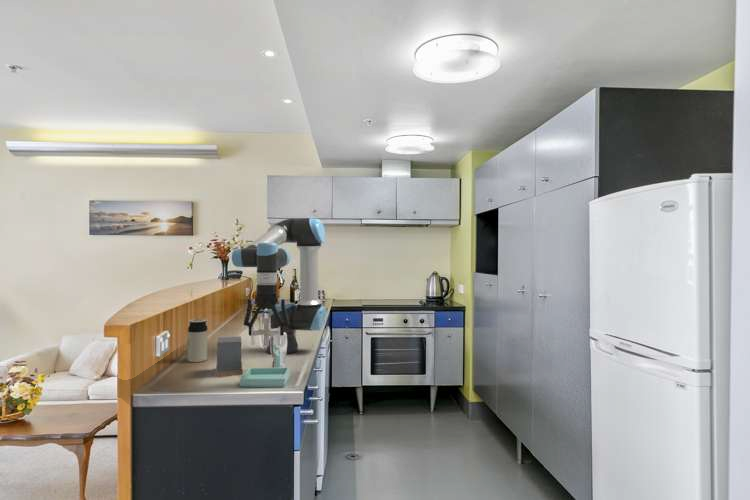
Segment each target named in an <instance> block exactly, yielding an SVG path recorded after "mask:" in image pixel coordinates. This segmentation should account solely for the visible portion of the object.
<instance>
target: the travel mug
mask: <svg viewBox="0 0 750 500" xmlns="http://www.w3.org/2000/svg"><path fill="white" fill-rule="evenodd" d="M188 322H189V325H188V327H187V362H189V363H202V362H205V361H207V360H208V326H207V322H208V319H206V318H192V319H189V320H188Z"/></svg>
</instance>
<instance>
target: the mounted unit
mask: <svg viewBox="0 0 750 500" xmlns="http://www.w3.org/2000/svg"><path fill="white" fill-rule="evenodd" d="M214 374H215V376H214V377H215V378H217V377H219V378H220V377H230V376H231V377H232V376H233V375H234V376H243V375H244V374H243V362H242V336H222V337H218V338H217V342H216V367H215V373H214Z"/></svg>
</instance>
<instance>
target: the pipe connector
mask: <svg viewBox="0 0 750 500" xmlns="http://www.w3.org/2000/svg"><path fill="white" fill-rule="evenodd" d="M274 333H278V328H276V329H270V319H269V318H263V328H262V327H260V328H258V330H255V331H253V336H255V337H256V336H257V337H258V336H263V347H267V346H269V339H270V336H274Z"/></svg>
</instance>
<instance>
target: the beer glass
mask: <svg viewBox="0 0 750 500" xmlns="http://www.w3.org/2000/svg"><path fill="white" fill-rule="evenodd" d="M269 339H270V351H271V353H270V355H271V367H270V368H287V367H286V358H287V357H286V355H287V354H286V351H287V333H286V332H284V335H281V344H280V345H278V333H274V336H269Z"/></svg>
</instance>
